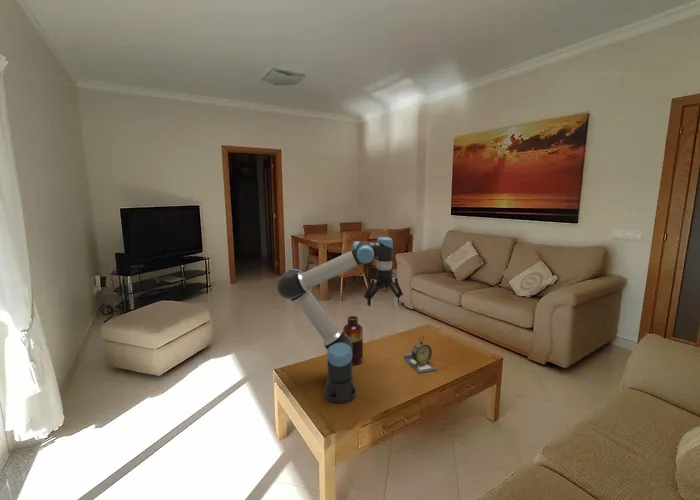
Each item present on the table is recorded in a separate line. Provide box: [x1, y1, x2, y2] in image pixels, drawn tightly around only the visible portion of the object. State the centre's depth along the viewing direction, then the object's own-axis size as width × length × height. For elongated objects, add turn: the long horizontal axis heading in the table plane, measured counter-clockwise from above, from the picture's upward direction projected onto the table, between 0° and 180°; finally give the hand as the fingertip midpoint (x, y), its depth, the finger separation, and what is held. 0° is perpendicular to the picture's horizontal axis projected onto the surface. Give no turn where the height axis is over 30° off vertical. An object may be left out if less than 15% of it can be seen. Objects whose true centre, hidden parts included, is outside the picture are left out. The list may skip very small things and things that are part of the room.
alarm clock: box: [411, 335, 433, 366], centre depth 187 cm, size 11×5×16 cm, turn 116°
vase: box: [342, 315, 364, 366], centre depth 192 cm, size 11×11×26 cm
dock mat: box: [403, 352, 438, 375], centre depth 189 cm, size 11×18×3 cm, turn 17°
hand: (383, 310), depth 169 cm, fingers open, 13 cm apart
